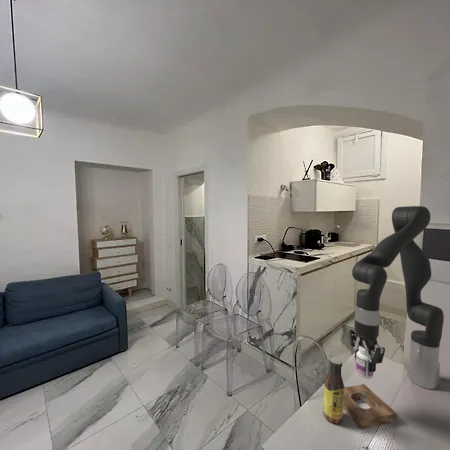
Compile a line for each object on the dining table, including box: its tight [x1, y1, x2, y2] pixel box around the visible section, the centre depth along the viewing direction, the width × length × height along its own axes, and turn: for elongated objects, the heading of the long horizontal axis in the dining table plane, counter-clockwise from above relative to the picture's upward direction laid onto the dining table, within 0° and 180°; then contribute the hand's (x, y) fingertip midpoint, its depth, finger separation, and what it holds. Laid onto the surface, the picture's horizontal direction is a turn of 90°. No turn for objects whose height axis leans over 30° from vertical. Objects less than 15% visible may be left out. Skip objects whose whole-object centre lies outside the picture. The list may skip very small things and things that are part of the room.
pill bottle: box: [355, 346, 374, 379], centre depth 85 cm, size 5×5×10 cm
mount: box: [343, 383, 398, 430], centre depth 86 cm, size 14×14×3 cm
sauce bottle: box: [322, 356, 345, 424], centre depth 81 cm, size 7×6×20 cm
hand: (364, 366), depth 85 cm, fingers closed on pill bottle, 5 cm apart
